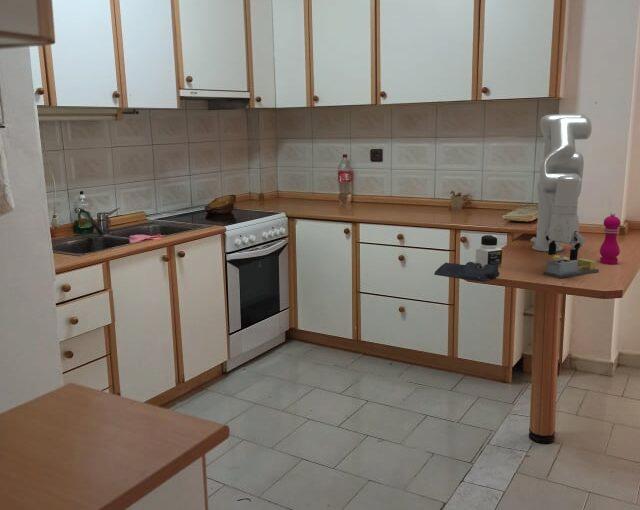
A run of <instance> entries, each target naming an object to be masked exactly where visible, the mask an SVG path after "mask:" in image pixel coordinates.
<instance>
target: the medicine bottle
mask: <svg viewBox="0 0 640 510" xmlns="http://www.w3.org/2000/svg"><path fill="white" fill-rule="evenodd" d="M498 239H499V238H498V236H496V235H493V234H492V235H491V234H486V235H483V236H481V242H480V247H476V248H475V260H474V261H475V262H474V263H480V264H481V266H482V268H483V267H484V265H486V264H489V265H497V266H498V268H501V267H502V261H503V260H502V259H503V249H502V248H501V247H498Z"/></svg>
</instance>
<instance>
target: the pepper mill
mask: <svg viewBox="0 0 640 510" xmlns="http://www.w3.org/2000/svg"><path fill="white" fill-rule="evenodd" d="M609 215H610V216H607V217H605V218H604V220H603V226H604V227H605V228H604V231H603V232H604V233H605V236H604V239H603V240H604V241H603V242H602V243H601V246H600V247H599V254H600V256H601V257H600V259H599V263H601V264H607V265H616V264H618V263H619V262H618V260H619V259H618V256H619V255H620V252H621V249H620V247H619V244H618V240H617V236H618V233H619V227H620V226H621V220H620V218H619V217H618V216H616V213H615V212H614V211H611V212H610V214H609Z"/></svg>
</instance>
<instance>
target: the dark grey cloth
mask: <svg viewBox="0 0 640 510" xmlns="http://www.w3.org/2000/svg"><path fill="white" fill-rule="evenodd" d="M500 274H501V273H500V272H499V267H498V266H497V265H489V264H486V265H484V267H482V266H481V264H480V263H475V262H474V261H468V262H466V263H465V264H460V263H455V262H454V263H453V262H451V263H450V262H444V263H443V264H442V265H440V266H439V267H438V268H437V269H436V270H435V271H434V275H435V276H441V277H446V278H452V279H460V280H467V281H472V282H473V281H476V282H480V283H481V282H483V283H484V282H490V281H492V280H495V279H496V277H497V278H499V276H500Z"/></svg>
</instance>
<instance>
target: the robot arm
mask: <svg viewBox="0 0 640 510" xmlns="http://www.w3.org/2000/svg"><path fill="white" fill-rule="evenodd" d="M540 131H541V133H542V134H541V135H542V137H543V140H544V141H543V142H544V147H543V158H542V159H543V160H542V162H541V164H540V167H539V180H538V181H537V196H538V197H537V198H538V201H537V202H538V205H537V206H538V209H537V224H536V225H537V226H536V237H534V236H533V237H531V238H530V242H531V243H534V244H533V245H532V247H531V248H532V249H533V250H534V251H539V252H545V253H546V252H547V253H548V256H556V254H557V252H561V251H563V250H564V247H563V246H561V245H560V243H562V244H566V245H568V244H569V246H570V248H571V249H570V250H569V258H570V260H571V261H572V260H573V261H577V259H578V255H579V253H578V252H579V250H580V248H581V247H582V246H583V244H584V243H585V241H586V238H585V237H584V236H583V235H581V234H580V222H579V221H580V220H579V215H578V206H579V205H578V204H579V202H578V201H579V197H580V196H581V191H582V186H583V185H582V184H583V175H584V168H585V167H584V162H585V161H584V156H583V154H582V153H580V152H579V151H576V150H577V149H576V140H588V139H589V138H590V137H591V134H592V122H591V119H590V118H589V117H588V116H587V115H586V114H584V113H583V114H582V113H581V114H580V113H579V114H578V113H571V114H570V113H569V114H568V113H565V114H564V113H562V114H560V113H557V114H556V113H555V114H546V115H544V116H542V117H541V118H540Z"/></svg>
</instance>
